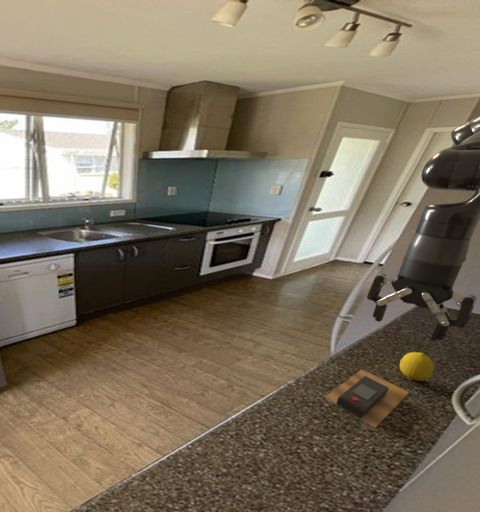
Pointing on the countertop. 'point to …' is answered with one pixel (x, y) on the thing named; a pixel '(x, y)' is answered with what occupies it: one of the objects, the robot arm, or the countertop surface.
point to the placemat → (380, 408)
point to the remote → (362, 396)
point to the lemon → (416, 366)
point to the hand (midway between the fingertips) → (404, 329)
